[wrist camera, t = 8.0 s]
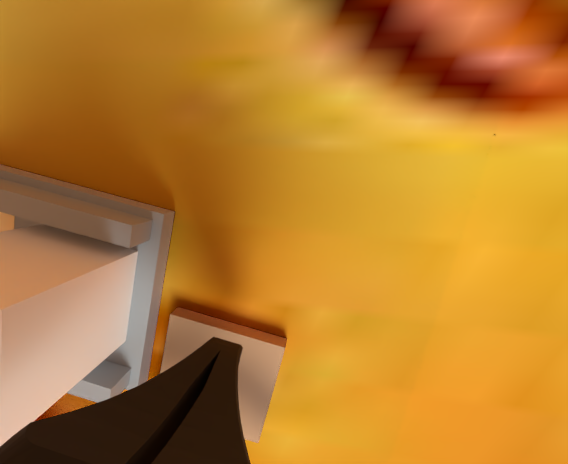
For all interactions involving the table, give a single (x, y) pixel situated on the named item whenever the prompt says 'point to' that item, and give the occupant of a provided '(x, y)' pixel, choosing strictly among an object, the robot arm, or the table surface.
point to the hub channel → (112, 229)
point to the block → (56, 315)
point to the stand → (252, 367)
